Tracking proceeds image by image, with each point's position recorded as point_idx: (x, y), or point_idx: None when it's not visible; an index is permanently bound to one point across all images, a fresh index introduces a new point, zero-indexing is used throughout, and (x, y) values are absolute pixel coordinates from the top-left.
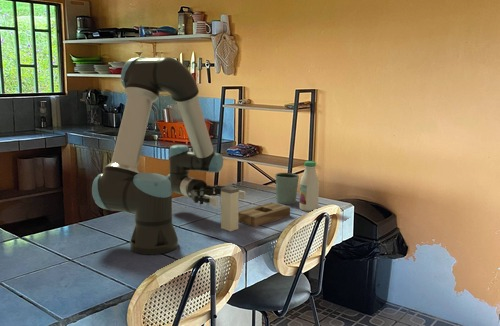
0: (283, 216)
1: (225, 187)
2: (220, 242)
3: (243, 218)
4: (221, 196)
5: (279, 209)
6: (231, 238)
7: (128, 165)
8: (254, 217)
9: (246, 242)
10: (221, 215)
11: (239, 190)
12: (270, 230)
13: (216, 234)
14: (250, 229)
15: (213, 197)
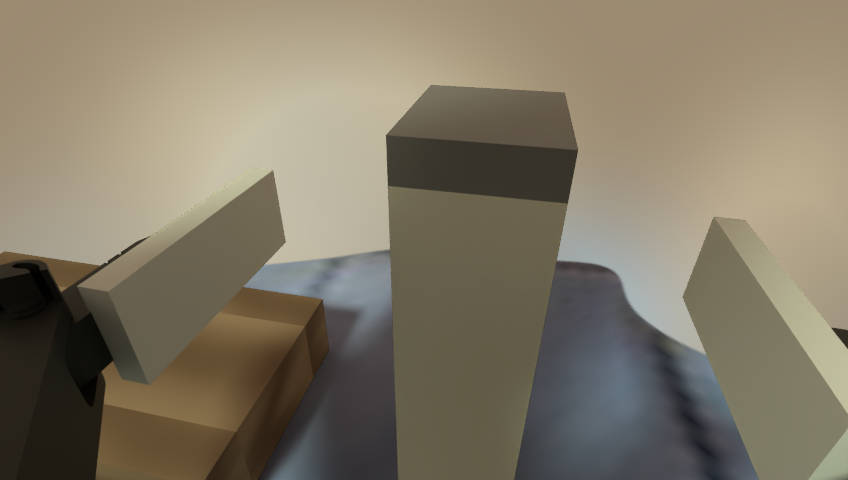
0: None
1: (496, 133)
2: (705, 363)
3: (270, 418)
4: (552, 267)
5: (68, 272)
6: (602, 351)
7: None
8: (319, 303)
9: (577, 282)
10: (518, 447)
11: (202, 209)
12: (351, 277)
13: (645, 465)
14: (390, 347)
15: (753, 252)
